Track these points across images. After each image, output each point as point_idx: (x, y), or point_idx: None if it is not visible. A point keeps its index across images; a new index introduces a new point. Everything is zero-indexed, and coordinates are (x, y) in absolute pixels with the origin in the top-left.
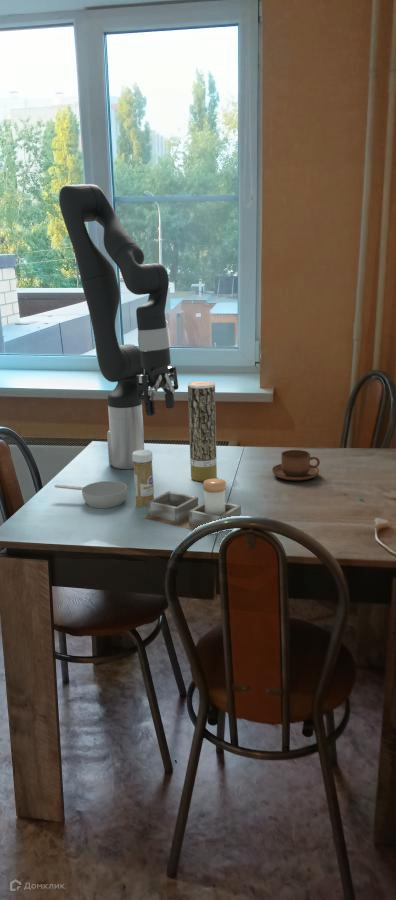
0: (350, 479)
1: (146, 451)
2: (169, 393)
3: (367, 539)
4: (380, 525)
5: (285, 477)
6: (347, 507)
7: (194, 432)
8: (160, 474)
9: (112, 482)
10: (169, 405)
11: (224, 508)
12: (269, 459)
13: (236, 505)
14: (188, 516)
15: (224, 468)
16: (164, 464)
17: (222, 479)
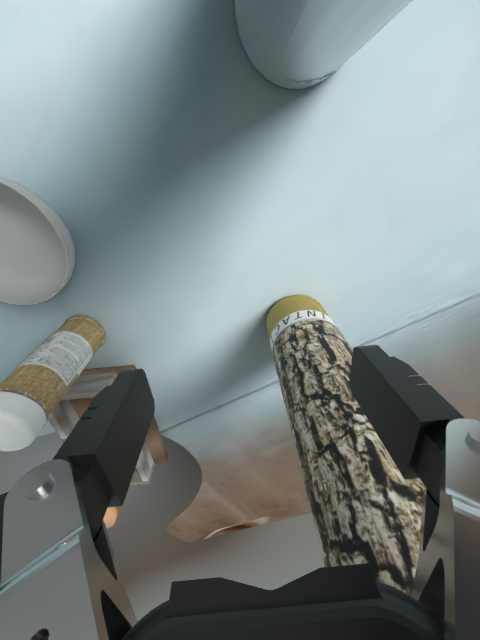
0: None
1: (12, 436)
2: (420, 465)
3: (212, 527)
4: (250, 523)
5: None
6: (281, 496)
7: (288, 411)
8: (267, 210)
9: (50, 219)
10: (360, 379)
11: None
12: (465, 351)
13: (146, 480)
14: None
15: (376, 314)
16: (355, 149)
17: (114, 521)
